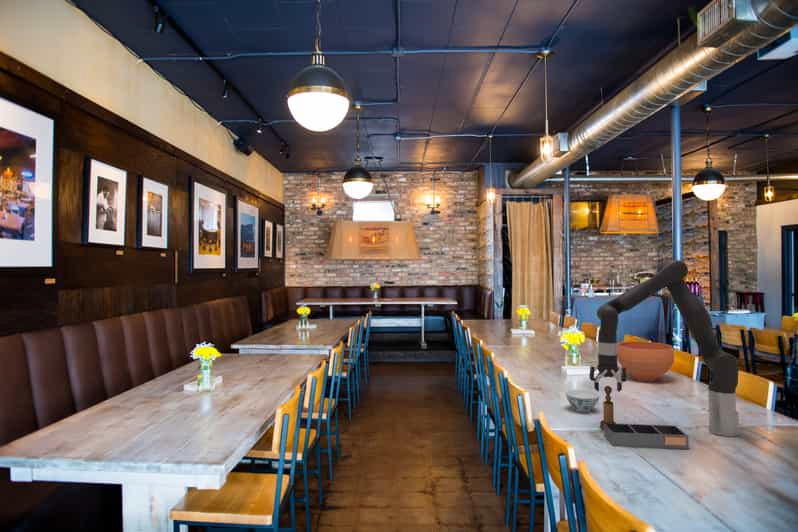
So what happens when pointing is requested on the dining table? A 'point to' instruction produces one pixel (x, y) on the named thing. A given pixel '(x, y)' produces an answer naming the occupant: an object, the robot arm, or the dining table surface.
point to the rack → (646, 436)
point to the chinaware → (582, 399)
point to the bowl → (645, 359)
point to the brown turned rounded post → (607, 408)
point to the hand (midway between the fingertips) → (607, 391)
